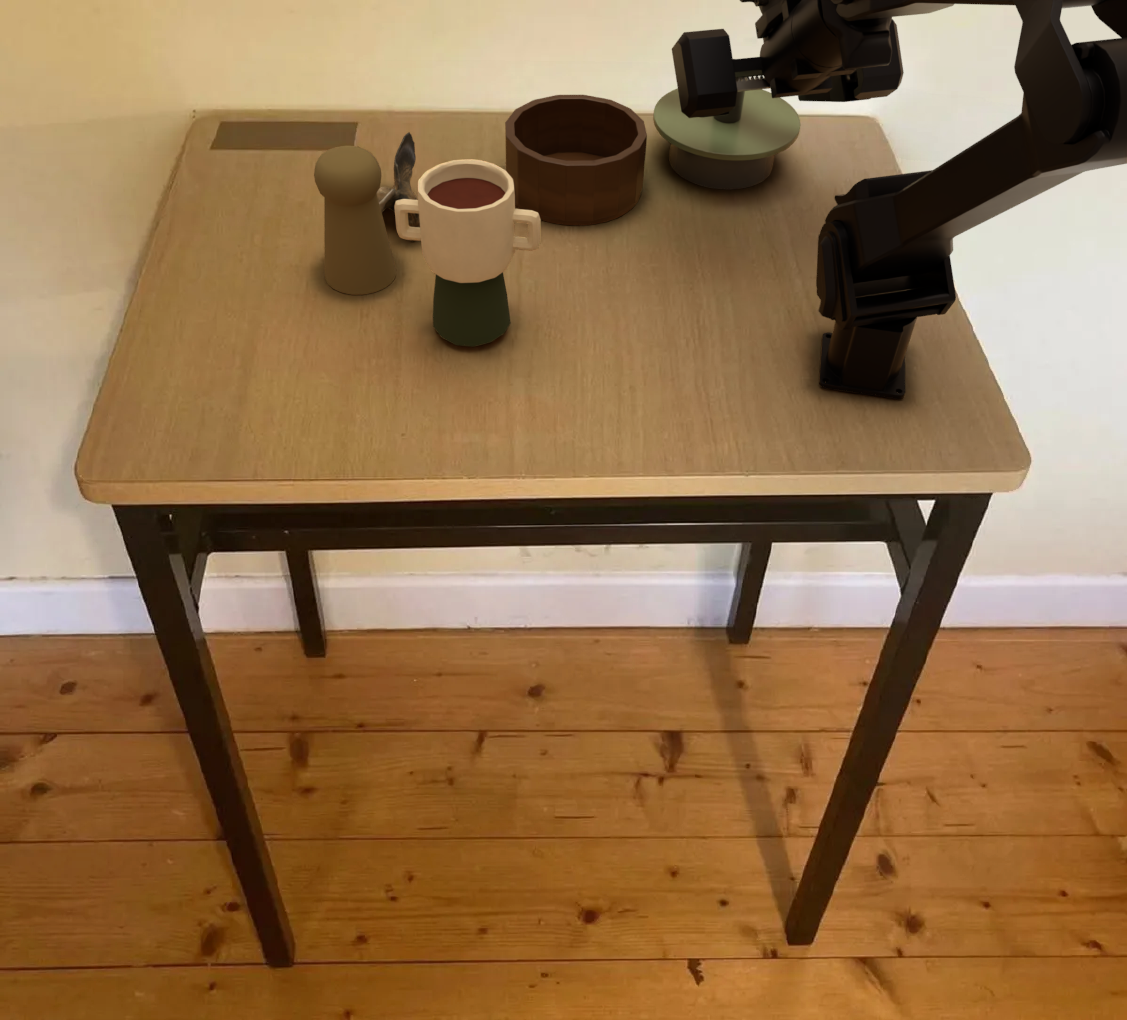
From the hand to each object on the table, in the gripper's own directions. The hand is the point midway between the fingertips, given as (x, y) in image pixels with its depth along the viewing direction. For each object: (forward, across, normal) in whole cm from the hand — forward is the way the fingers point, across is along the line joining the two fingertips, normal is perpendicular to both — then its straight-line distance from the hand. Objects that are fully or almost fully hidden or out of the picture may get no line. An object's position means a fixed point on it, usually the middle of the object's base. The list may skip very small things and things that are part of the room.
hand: (751, 99), depth 99 cm
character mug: (-4, +29, +17) cm, 34 cm away
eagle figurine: (+8, +32, +5) cm, 33 cm away
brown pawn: (+2, +36, +10) cm, 38 cm away
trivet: (+9, 0, +3) cm, 10 cm away
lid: (+6, 0, 0) cm, 7 cm away
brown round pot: (+8, +15, +4) cm, 18 cm away
